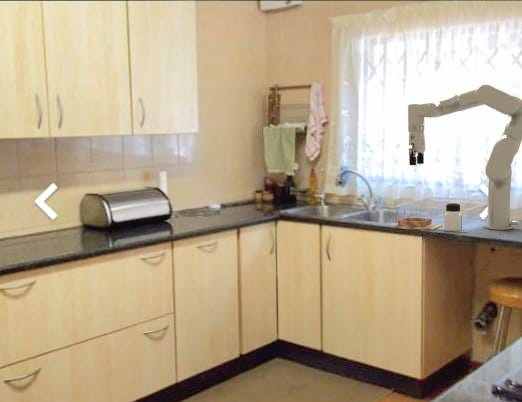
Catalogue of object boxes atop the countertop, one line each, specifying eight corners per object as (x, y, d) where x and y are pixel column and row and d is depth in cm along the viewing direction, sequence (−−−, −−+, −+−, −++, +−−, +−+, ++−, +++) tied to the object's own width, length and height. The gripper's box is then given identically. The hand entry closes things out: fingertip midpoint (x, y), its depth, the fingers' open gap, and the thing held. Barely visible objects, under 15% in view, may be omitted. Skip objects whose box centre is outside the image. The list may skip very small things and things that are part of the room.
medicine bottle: (461, 231, 291) (462, 204, 290) (445, 230, 292) (445, 204, 291) (460, 228, 298) (460, 202, 297) (444, 228, 299) (444, 202, 298)
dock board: (442, 226, 305) (442, 218, 304) (432, 230, 293) (432, 223, 293) (406, 223, 315) (406, 216, 314) (395, 228, 303) (395, 220, 303)
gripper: (417, 129, 300) (417, 165, 302) (430, 128, 314) (430, 163, 316) (401, 129, 304) (402, 165, 306) (415, 128, 318) (415, 163, 320)
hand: (416, 164), depth 311 cm, fingers open, 9 cm apart
